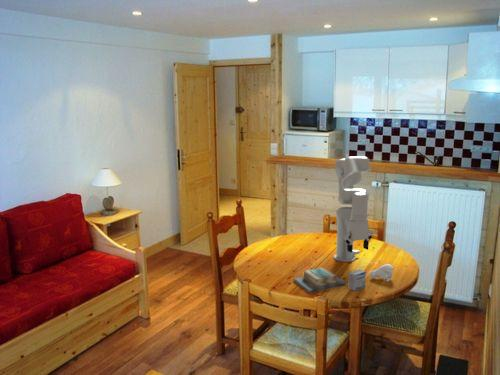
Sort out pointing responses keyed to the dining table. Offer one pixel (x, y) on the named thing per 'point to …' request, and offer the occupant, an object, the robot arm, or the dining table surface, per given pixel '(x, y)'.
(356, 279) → the medicine box
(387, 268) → the grey rock
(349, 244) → the robot arm
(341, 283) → the plinth
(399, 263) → the dining table surface
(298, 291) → the dining table surface
